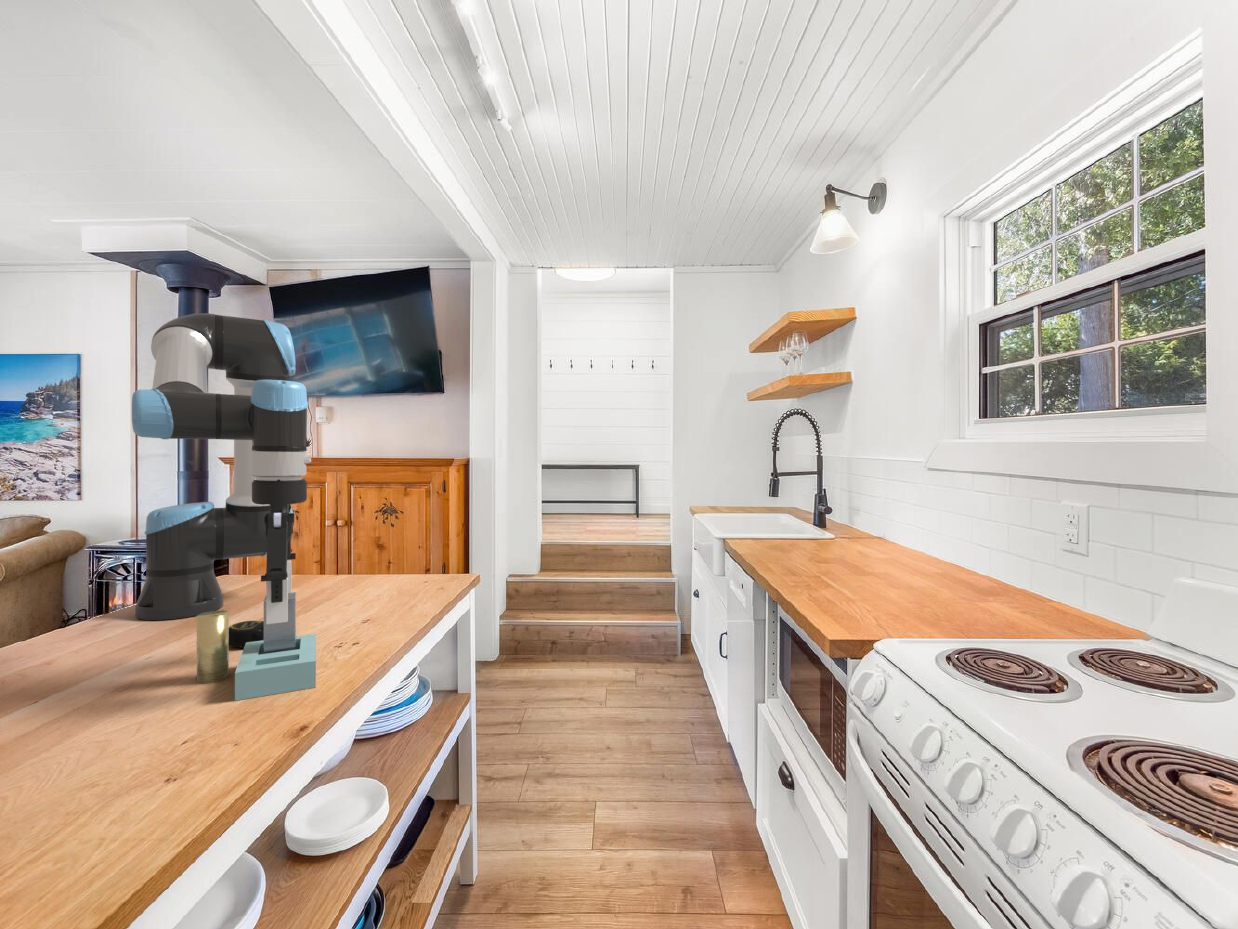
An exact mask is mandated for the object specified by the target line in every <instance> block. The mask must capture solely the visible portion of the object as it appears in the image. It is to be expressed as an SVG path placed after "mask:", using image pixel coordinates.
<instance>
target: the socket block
mask: <svg viewBox="0 0 1238 929" xmlns="http://www.w3.org/2000/svg"><path fill="white" fill-rule="evenodd" d="M239 658H240V659H239V661H238V662H237V666H236V669H235V672H234V701H236V702H237V701H242V700H243V701H244V700H248V699H255V698H259V697H267V696H271V695H277V694H284V693H290V692H291V693H292V692H296V691H302V690H308V689H313V688H316V684H317V683H316V676H317V668H316V667H317V666H316V665H317V634H316V633H310V634H302V635H301V634H300V635H296V650H289V651H282V652H275V653H268V654H264V640H262V641H254V642H246V644H245V647H243V650H242V652H241V654H240V657H239Z"/></svg>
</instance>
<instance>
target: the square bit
mask: <svg viewBox="0 0 1238 929" xmlns="http://www.w3.org/2000/svg"><path fill="white" fill-rule="evenodd" d="M296 600H297V593H296V592H295V591H294V592H291V593H288V622H282V623H273V624H266V595H265V596H264V599H263V621H264V654H268V653H275V652H282V651H289V650H296V636H297V617H296V616H297V608H296V607H297V603H296V602H297V601H296Z"/></svg>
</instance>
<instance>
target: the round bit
mask: <svg viewBox="0 0 1238 929" xmlns="http://www.w3.org/2000/svg"><path fill="white" fill-rule="evenodd" d="M229 618H230V616H229V611H228V610H219V609H217V610H215V611H210V612H205V613H201V614H199V615H196V682H197V684H213V683H217V682H221V681H223V680H225V679H227V678H229V675H230V673H229V671H230V670H229V669H230V667H229V666H230V663H229V662H230V661H229V660H230V658H229V657H230V656H229V655H230V653H229V652H230V651H229V650H230V648H229V647H230V646H229V627H230V624H229V623H230V622H229V621H230V619H229Z"/></svg>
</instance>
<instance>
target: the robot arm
mask: <svg viewBox="0 0 1238 929" xmlns="http://www.w3.org/2000/svg"><path fill="white" fill-rule="evenodd" d="M150 350H151V351H150V352H151V354H152V356H153V358H154V360H155V365H154V373H153V381H152V386H151V389H137V390H135V391H134V392H132V395H131V425H132V426H131V427H132V430H133V433H134V434H135V435H137V436H138V437H140V438H151V439H160V440H171V439H172V440H175V439H176V440H226V441H227V440H228V441H229V440H233V493H231V494H230V495H229V496H228V497H227V498H225V506H224V507H215V504H214V503H213V501H201V502H192V503H191V502H190V503H184V504H176V505H171V506H165V507H161V508H157V509H153V510H152V511H150V512H149V513H148V514H147V516H146V523H145V531H144V535H145V536H146V537H145V538H146V540H145V541H146V542H145V543H146V544H145V545H146V546H145V548H146V550H145V551H146V552H145V553H146V554H145V558H146V560H145V569H146V570H145V575H146V576H145V577H146V578H145V581H144V583H143V586H142V589H141V591H140V595H139V596H138V599H137V601H136V604H135V608H134V609H135V615H134V616H135V618H136V619H138V620H145V621H164V620H176V619H183V618H185V619H186V618H190V617H194V616H196V617H197V615H199V614H201V613H205V612H210V611H218V610H219V609H221V608H223V606H224V593H223V591H222V589H221V587H220V584H219V582H218V579H217V577H216V574H215V571H214V569H215V568H214V567H215V566H214V561H217V560H227V559H238V558H239V559H240V558H249V557H266V566H265V567H266V568H265V570H266V571H265V574H263V575H260V582H261V583H262V582H263V583H264V582H266V588H265V589H266V592H265V593H266V595H265V596H266V624H273V623H282V622H288V593H292V560H296V559H297V558H296V556H297V555H296V553H295V552H294V553H293V548H292V538H293V537H292V535H293V534H294V525H295V512H293V507H292V505H296V504H301V503H305V502H306V501H307V500H308V481H307V480H306V479H305V478H303V477H305V476H306V475H307V467H308V466H307V464H310V463H312V459H311V457H308V456H306V455H307V451H308V448H307V435H308V434H307V433H308V432H307V431H308V428H307V427H308V407H309V402H308V395H307V394H308V392H307V387H306V386H305V385H304V384H303V383H301V382H299V381H293V380H288V377H292V376H293V377H294V375H295V374H296V354H295V353H296V352H295V348H294V341H293V337H292V335H291V331H290V329H289V328H288V326H286V325H285V324H283V323H279V322H274V321H270V320H266V319H262V320H261V319H255V318H254V319H253V318H247V317H238V316H231V315H221V314H215V313H208V312H207V313H206V312H205V313H203V312H201V313H200V312H199V313H192V314H187V315H182V316H179V317H177V318H173V319H172V320H169V321H168V322H166V323H164V324H163V325H161V326H160V327H159V328H158V329H157V330H156V331H155V333H154V334H153V336H152V340H151V344H150ZM208 369H210V370H218V371H219V370H220V371H225V379H226V380H227V381H228V382H229V383H230V384H231V385H232V386H233V390H234V392H233V393H234V394H226V393H225V394H224V393H223V394H222V393H212V392H211V393H210V392H208Z"/></svg>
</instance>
